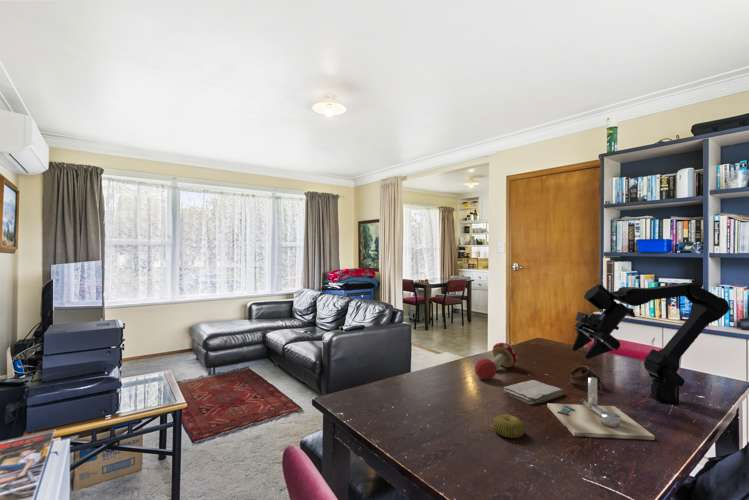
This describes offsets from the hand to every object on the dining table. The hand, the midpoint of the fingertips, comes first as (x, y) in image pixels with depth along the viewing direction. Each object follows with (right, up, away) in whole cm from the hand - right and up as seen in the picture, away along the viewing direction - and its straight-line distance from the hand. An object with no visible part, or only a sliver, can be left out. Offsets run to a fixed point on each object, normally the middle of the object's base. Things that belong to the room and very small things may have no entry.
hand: (579, 354), depth 121 cm
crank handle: (-4, -13, -17) cm, 22 cm away
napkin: (-6, -14, -18) cm, 24 cm away
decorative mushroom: (-17, -14, +29) cm, 36 cm away
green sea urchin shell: (-33, -14, -25) cm, 44 cm away
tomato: (-27, -14, +16) cm, 34 cm away
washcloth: (-15, -15, +2) cm, 21 cm away
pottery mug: (+8, -15, +10) cm, 19 cm away
